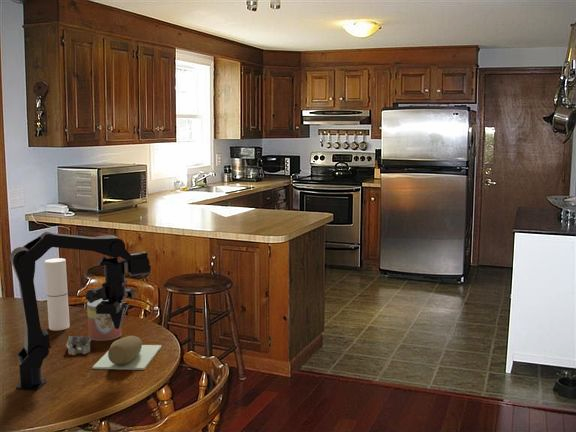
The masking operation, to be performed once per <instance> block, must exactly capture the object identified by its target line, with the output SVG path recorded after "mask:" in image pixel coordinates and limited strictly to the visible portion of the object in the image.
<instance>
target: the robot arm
mask: <svg viewBox="0 0 576 432" xmlns="http://www.w3.org/2000/svg"><path fill="white" fill-rule="evenodd" d="M52 248H57V249H69V250H78V251H80V250H81V251H89V252H95V253H98V254H101V255H102V256H101V257H100V258H99V260H98V261H96V264H98V265H99V266H104V281H103V282H102V285H101V286H98V287H95V288H94V287H93V288H90V289H87V290H86V293H85V298H84V299H85V300H87V301H88V302H90V303H93V302H94V301H96V300H99V299H102V300H108V301H102V302H100V303H99V304H98V305H97V306H96V307H95V309H96V314H110V316H111V319H112V321H113V324H114V327H115V329H119V328H120V326H121V327H122V322H123V320H124V317H125V316H126V312H127V310H128V308H129V305H130V302H126V301H125V299H127V298H130V300H134V299H135V298H136V291H135V290H134V289H133V288H126V284H127V283H128V279H126V274H128V275H129V276H130V277H133V276H142V275H149V274H150V273H151V269H152V268H151V267H152V265H151V262H150V259H149V256H148V252H146V251H141V252H137V253H136V252H135V253H131V252H129V251H128V250H127V249H126V243H125V242H124V240H123V239H121V238H119V237H117V236H116V235H113V234H112V235H110V234H109V235H99V236H98V235H97V236H84V235H74V234H67V233H65V234H63V233H56V232H55V233H54V232H51V231H45V232H43V233H41V234H40V235H38V236H37V237H36V238H34V239H32V240H30V241H29V242H27V243H26V244H25V245H23V246H18V247H16V248H14V249H13V250H12V251H11V253H10V254H9V260H10V262H11V265H12V268H13V270H14V273H15V275H16V278H17V281H18V286H19V293H20V298H21V299H20V300H21V306H22V311H23V319H24V325H25V330H24V337H23V338H24V341H23V347H22V348H21V350H20V351H18V352H17V354H16V358H17V360H18V363H19V365H18V368H19V370H18V371H19V382H20V383H19V384H17V385H16V386H15V390H32V391H33V390H35V391H36V390H38V389H40V388H41V387H42V386H43V385H44V384H46V382H47V381H48V379H47V378H42V365H43V362H44V360H45V359H46V358H47V356H48V355H49V353H50V349H52V346H51V344H50V333H48V331H47V330H46V328H43V329H42V327H41V321H40V315H39V307H38V301H37V295H36V287H35V282H34V281H35V274H36V262H37V261H38V260H40V259H41V258H42V257H43V256H44V255H45V254H46V253H47V252H48V251H49V250H50V249H52ZM106 256H108V257H106ZM119 257H120V258H121V259H120V258H119ZM118 258H119V259H118Z"/></svg>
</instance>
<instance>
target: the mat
mask: <svg viewBox="0 0 576 432" xmlns="http://www.w3.org/2000/svg"><path fill="white" fill-rule="evenodd" d="M161 348H162V345H161V344H160V345H159V344H142V348H141V351H140V352H139V353H138V354H137V355H136V357H135V358H134V359H133V360H132V361H131V362H130V363H128V364H126V365H116V364H114V363H112V362H111V361H110V360H109V357H108V352H109V350H107V351H106V352H105V353H104V355H102V356H101V357H100V359H99V360H98V361H97V362H96V363H95V364H94V365H93V366H92V369H93V370H134V371H135V370H136V371H138V370H140V371H143V370H145V369H147V367H148V365H150V363H151V362H152V360H153V359H154V358H155V357H156V355H157V354H158V352H159V351H160V350H161Z"/></svg>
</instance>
